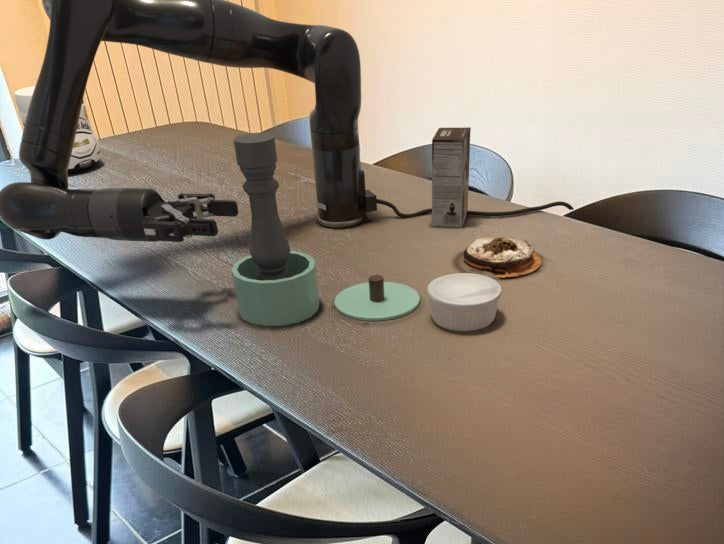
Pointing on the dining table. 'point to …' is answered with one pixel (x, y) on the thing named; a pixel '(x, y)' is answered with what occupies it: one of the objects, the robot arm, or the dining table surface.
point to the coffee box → (450, 176)
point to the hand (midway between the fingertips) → (227, 217)
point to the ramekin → (464, 301)
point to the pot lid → (377, 300)
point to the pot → (277, 292)
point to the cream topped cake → (502, 256)
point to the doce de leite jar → (85, 139)
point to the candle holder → (263, 204)
